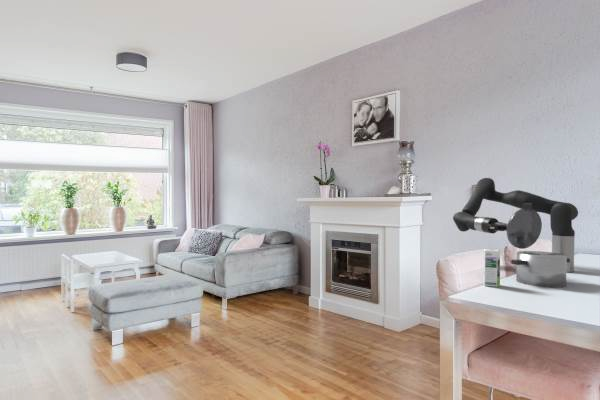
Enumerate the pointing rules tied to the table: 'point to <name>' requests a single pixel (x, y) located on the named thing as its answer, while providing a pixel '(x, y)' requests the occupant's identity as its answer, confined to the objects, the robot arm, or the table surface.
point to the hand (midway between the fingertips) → (516, 228)
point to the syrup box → (492, 267)
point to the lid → (524, 227)
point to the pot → (541, 268)
